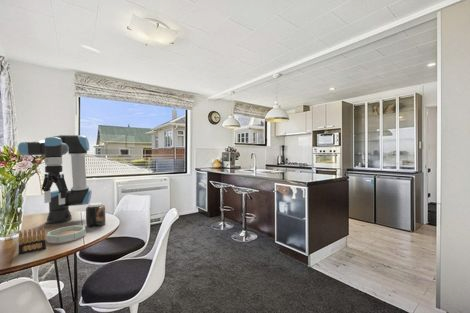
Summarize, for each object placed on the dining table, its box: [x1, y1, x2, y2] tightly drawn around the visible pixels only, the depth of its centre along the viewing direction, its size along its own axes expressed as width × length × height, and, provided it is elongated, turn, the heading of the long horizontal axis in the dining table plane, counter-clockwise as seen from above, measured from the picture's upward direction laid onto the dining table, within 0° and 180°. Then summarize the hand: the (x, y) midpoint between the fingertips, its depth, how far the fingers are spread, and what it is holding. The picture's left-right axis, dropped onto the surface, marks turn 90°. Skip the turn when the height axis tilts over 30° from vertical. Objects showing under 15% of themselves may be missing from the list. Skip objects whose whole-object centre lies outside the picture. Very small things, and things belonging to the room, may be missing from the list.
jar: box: [85, 202, 107, 228], centre depth 160 cm, size 12×12×15 cm
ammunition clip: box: [17, 226, 47, 256], centre depth 117 cm, size 11×2×12 cm, turn 129°
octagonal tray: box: [46, 224, 87, 244], centre depth 137 cm, size 19×19×4 cm
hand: (54, 203), depth 126 cm, fingers open, 13 cm apart
